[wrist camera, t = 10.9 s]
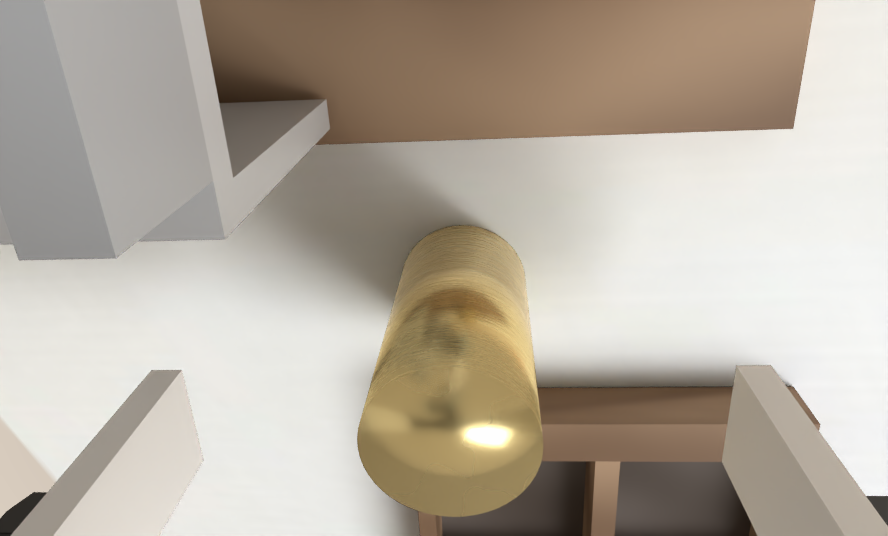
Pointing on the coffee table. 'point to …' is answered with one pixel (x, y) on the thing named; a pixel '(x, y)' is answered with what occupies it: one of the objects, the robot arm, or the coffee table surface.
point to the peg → (455, 380)
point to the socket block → (622, 468)
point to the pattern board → (515, 64)
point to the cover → (129, 130)
